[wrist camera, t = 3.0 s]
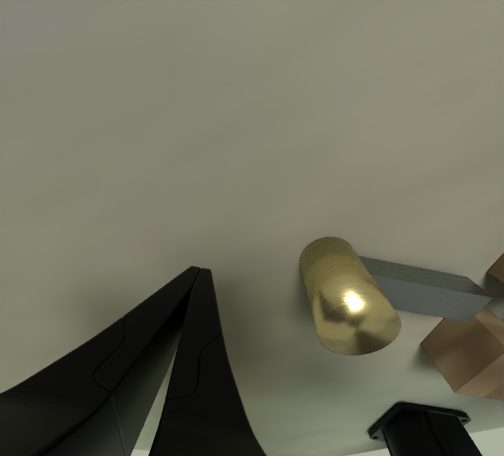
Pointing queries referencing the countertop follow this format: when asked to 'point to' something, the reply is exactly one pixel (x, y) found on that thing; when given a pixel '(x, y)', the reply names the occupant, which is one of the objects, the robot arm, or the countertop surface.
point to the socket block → (471, 350)
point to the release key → (377, 296)
